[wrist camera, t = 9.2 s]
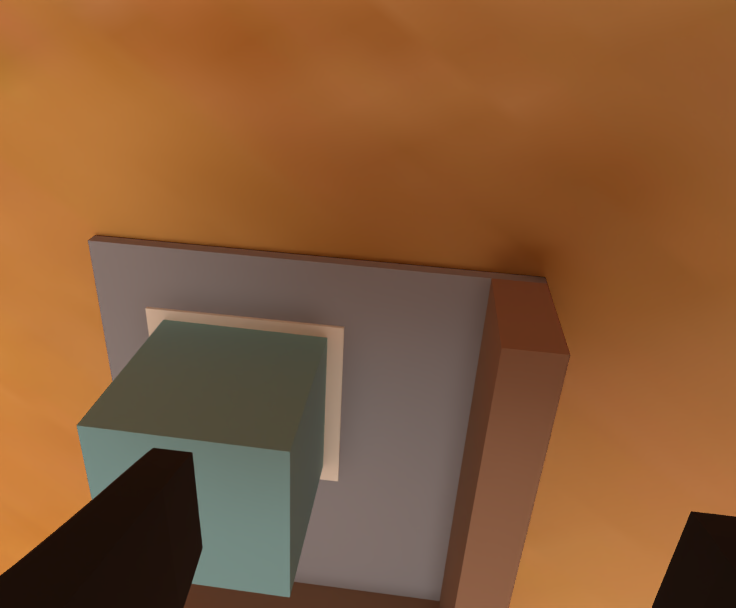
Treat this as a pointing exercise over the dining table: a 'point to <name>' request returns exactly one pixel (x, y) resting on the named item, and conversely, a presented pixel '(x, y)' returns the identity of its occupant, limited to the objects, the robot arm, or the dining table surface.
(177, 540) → the robot arm
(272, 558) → the teal cube
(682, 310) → the dining table surface
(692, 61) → the dining table surface
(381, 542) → the tray
